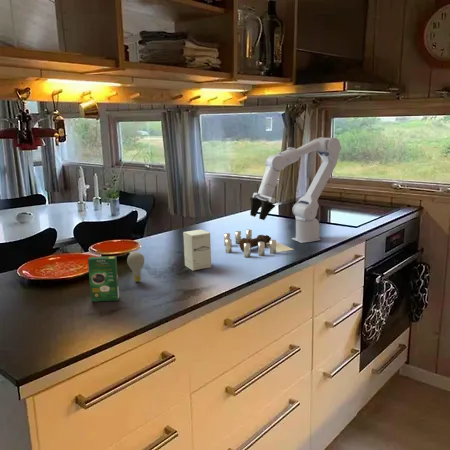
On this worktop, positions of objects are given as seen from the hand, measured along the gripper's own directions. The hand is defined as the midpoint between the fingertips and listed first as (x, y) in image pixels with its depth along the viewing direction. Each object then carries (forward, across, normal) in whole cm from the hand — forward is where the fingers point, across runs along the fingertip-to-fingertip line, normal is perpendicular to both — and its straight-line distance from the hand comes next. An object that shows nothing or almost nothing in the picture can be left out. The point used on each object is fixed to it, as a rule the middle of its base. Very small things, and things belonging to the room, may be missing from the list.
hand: (257, 217), depth 181 cm
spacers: (+13, 0, -1) cm, 14 cm away
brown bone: (+12, 0, +4) cm, 12 cm away
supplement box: (+23, +11, -23) cm, 34 cm away
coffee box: (+36, +27, -55) cm, 71 cm away
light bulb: (+32, +16, -44) cm, 57 cm away
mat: (+8, 0, +11) cm, 14 cm away
